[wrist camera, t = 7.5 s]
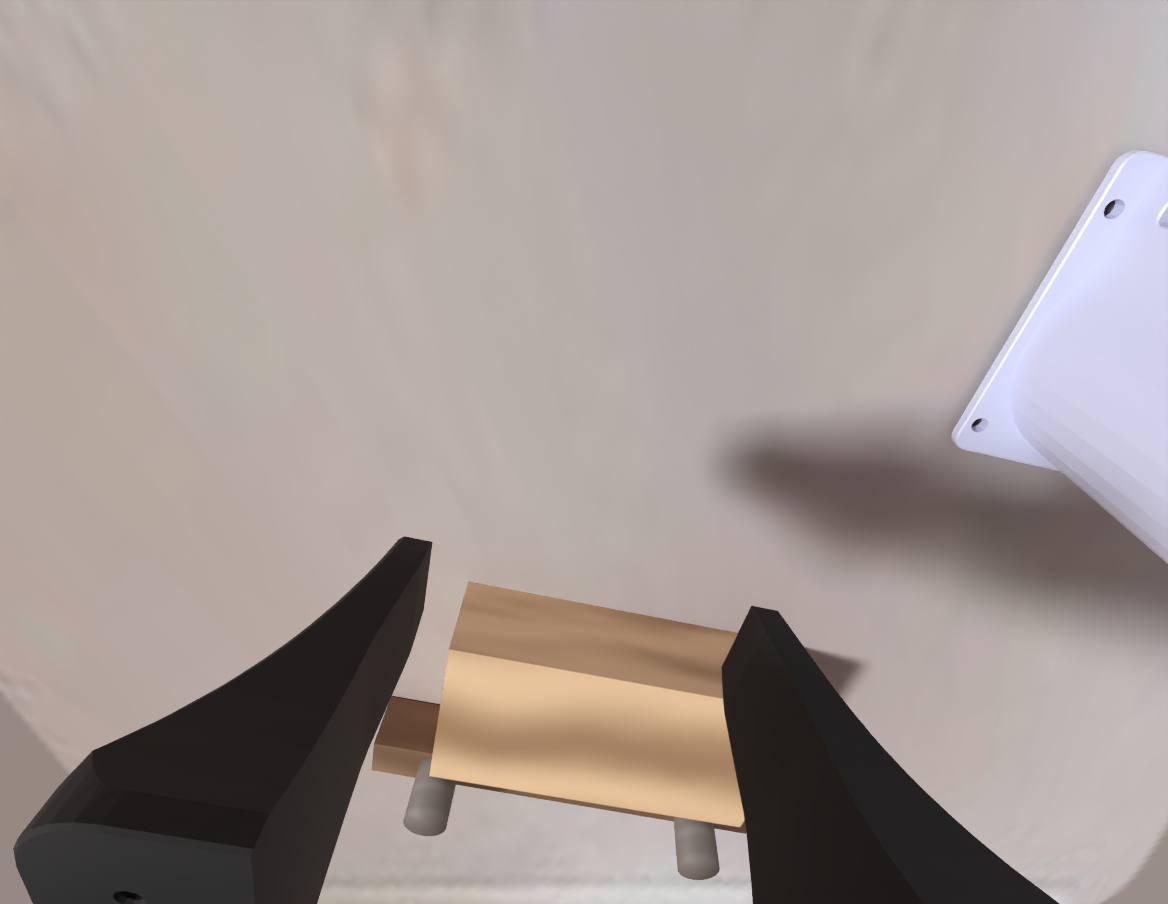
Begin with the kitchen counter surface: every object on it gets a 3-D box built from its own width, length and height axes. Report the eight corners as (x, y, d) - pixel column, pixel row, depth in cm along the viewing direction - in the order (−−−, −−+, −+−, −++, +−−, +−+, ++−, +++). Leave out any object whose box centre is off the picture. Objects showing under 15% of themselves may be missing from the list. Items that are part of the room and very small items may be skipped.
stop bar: (391, 696, 30) (354, 798, 26) (750, 761, 32) (772, 868, 27) (388, 722, 31) (352, 825, 27) (736, 783, 33) (755, 891, 28)
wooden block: (470, 575, 27) (448, 649, 23) (785, 636, 28) (810, 714, 24) (449, 697, 31) (428, 776, 27) (726, 746, 32) (740, 827, 28)
